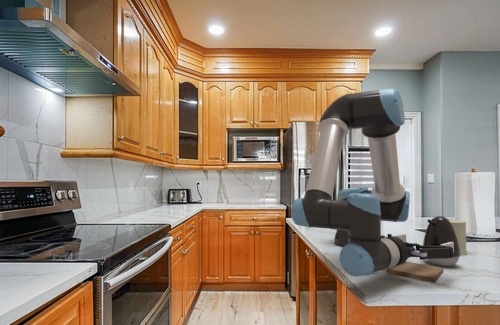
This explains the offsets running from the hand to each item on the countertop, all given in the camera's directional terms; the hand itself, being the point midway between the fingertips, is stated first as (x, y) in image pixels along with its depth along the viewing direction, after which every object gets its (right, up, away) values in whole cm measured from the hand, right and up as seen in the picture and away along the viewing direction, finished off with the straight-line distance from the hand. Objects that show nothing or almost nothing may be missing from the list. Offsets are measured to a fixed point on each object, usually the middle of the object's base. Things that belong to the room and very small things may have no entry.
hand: (427, 242), depth 91 cm
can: (+21, -9, +20) cm, 31 cm away
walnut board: (-6, -8, -4) cm, 10 cm away
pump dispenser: (+7, -8, +5) cm, 12 cm away
